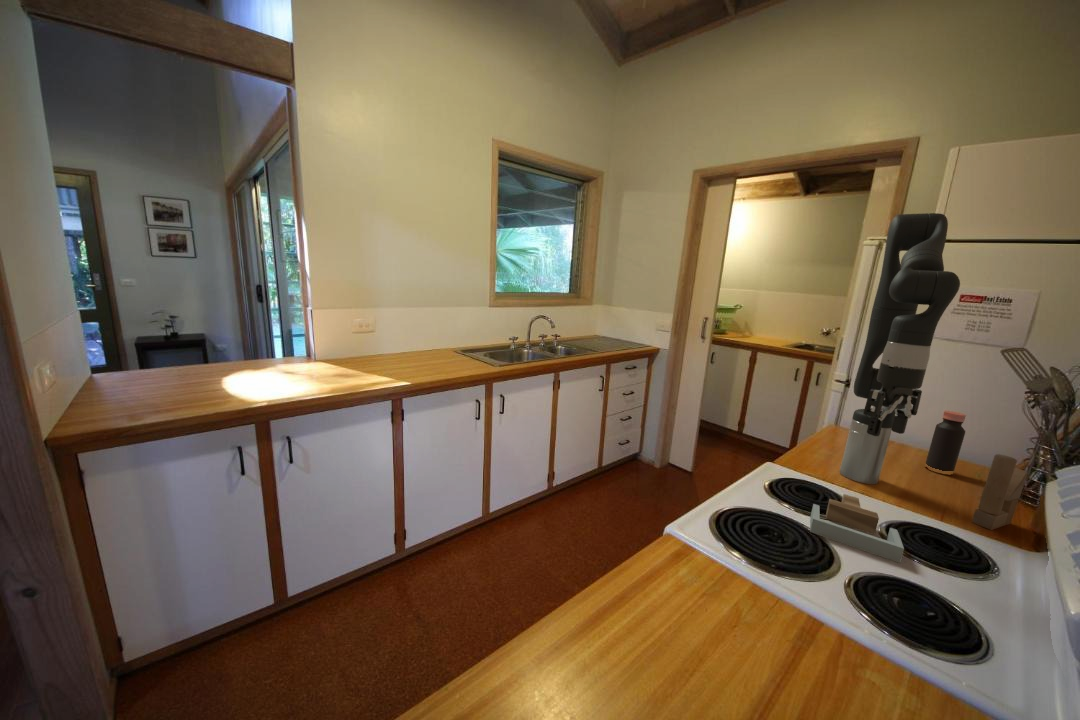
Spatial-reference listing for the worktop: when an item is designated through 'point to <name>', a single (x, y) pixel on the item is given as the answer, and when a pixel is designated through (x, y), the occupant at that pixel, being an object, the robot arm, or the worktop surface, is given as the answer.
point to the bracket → (858, 537)
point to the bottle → (946, 442)
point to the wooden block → (1000, 493)
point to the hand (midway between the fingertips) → (885, 433)
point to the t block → (852, 514)
